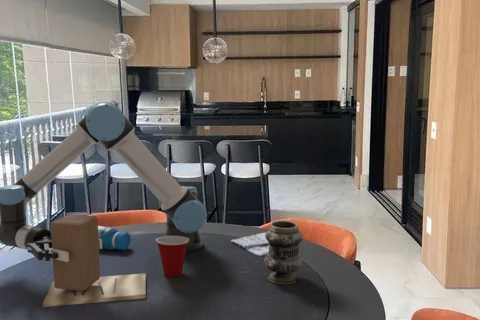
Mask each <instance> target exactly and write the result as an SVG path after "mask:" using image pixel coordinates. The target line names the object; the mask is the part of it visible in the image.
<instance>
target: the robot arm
mask: <svg viewBox="0 0 480 320" xmlns="http://www.w3.org/2000/svg"><path fill="white" fill-rule="evenodd" d="M135 130H136V128H135V126H134V125H133V123H131V121H130V120H129V119H128V118H127V117H126V116H125V114H124V113H123V112H122V110H121V109H120V108H119V107H118V106H116V105H115V104H113V103H112V102H108V101H107V102H106V101H103V102H98V103H96V104H94V105H93V106H91V108H90V109H89V110H88V112H87V113H86V115H85V116H84V117H83V118H82V119H81V120H80V121H79V122H78V123H77V127H76V128H75V129H74V130H73V131H72V132H71V133H70V134H69V135H68V136H67V137H65V138H64V139H63V140H62V141H61V142H60V143H59V144H57V146H55V147H54V148H52V150H51V151H50V152H49V153H47V154H46V155H45V156H44V157H43V158H42V159H41V160H40V161H38V162H37V163H36V164H35V165H34V166H33V167H32V168H31V169H29V171H27V172H26V173H25V174H24V175H23V176H22V177H21V178H19V179H18V180H17V181H16V182H15V183H13V184H9V185H4V186H1V187H0V244H2V245H4V246H7V247H14V248H18V249H23V250H26V251H27V253H30V254H31V255H33V256H34V257H35V258H36V259H37V260H38V261H42V260H44V258H45V262H49V261H51V259H52V260H53V259H56V260H60V261H64V262H69V252H66V251H62V250H58V249H53V248H52V239H51V230H50V229H48V228H43V227H39V226H34V225H30V224H28V223H27V211H26V207H27V205H28V203H29V202H30V201H31V200H32V199H33V198H35V197H36V196H37V195H38V193H40V192H41V191H42V190H43V189H45V188H46V187H47V186H48V185H49V184H50V183H51V182H52V181H53V180H55V179H56V177H58V176H59V175H60V174H61V173H62V172H63V171H64V170H65V169H67V168H68V166H70V165H71V164H72V163H73V162H74V161H76V160H77V159H78V158H79V157H80V156H81V155H82V154H84V152H86V151H87V150H88V149H89V148H90V147H91V146H93V144H94V145H97V144H99V143H100V144H101V145H102V146H103V147H104V148H105V149H106V150H107V151H110V152H111V151H113V152H114V153H116V154H117V156H118V157H120V159H121V160H122V161H123V162H124V164H126V165H127V166H128V168H129V169H130V170H131V171H132V172H133V173H134V174H135V176H137V177H138V179H139V180H140V181H142V183H143V184H144V185H145V186H146V187H147V188H148V190H149V191H150V192H151V193H152V194H153V195H154V196H155V197H156V198H157V199H158V200H159V202H161V207H160V208H161V210H162V211H163V212H164V214H165V215H166V228H165V230H164V231H165V232H164V235H163V237H164V236H183V237H187V238H189V242H188V244H187V248H186V253H189V252H194V251H198V250H199V249H201V248H202V246H203V239H202V235H201V233H200V230H201V229H202V228H203V227H204V226H205V223H206V222H207V218H208V212H207V208H206V206H205V205H204V204H203V203H202V202H201V201H200V200H199V199H198V190H197V188H196V187H195V186H183V185H180V184H179V183H178V181H177V180H175V178H174V177H173V176H172V175H171V174H170V172H169V171H168V170H167V169H166V168H165V167H164V166H163V164H162V163H161V162H160V161H159V160H158V159H157V158H156V157H155V156H154V155H153V154H152V152H151V151H150V150H149V148H147V146H146V145H145V144H144V143H143V142H142V141H141V140H140V139H139V137H138V136H137V135H136V134H135ZM98 240H99V250H102V249H101V248H102V240H101V239H98Z"/></svg>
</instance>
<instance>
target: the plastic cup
mask: <svg viewBox="0 0 480 320" xmlns="http://www.w3.org/2000/svg"><path fill="white" fill-rule="evenodd" d="M155 241H156V244H157V246H158V250H159V255H160V256H159V257H160V261H161V265H162V271H163V274H164V277H165V276H166V277H168V278H177V277H180V276H182V274H183V271H184V264H185V258H186V253H187V252H186V248H187V244H188V242H189V238H187V237H183V236H164V235H163V236H160V237H157V238H156V239H155Z"/></svg>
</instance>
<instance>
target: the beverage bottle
mask: <svg viewBox="0 0 480 320" xmlns="http://www.w3.org/2000/svg"><path fill="white" fill-rule="evenodd" d="M98 239H101V240H102V248H101V249H100V250H105V249H106V250H114V249H116V250H118V251H119V250H120V251H126V250H127V249H128V248H129V247H130V245H131V241H132V239H131V234H130V233H129V232H126V231H119V230H118V229H116V228H115V227H110V226H103V225H98Z"/></svg>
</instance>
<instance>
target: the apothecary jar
mask: <svg viewBox="0 0 480 320" xmlns="http://www.w3.org/2000/svg"><path fill="white" fill-rule="evenodd" d="M265 232H266V234H265V238H266V240H267V241H268V242H269V244H268V245H269V252H268V254H267V255H265V257H264V260H263V261H264V265H265V267H266V268H267V269H268V270H270V271H272V272H270V273H269V274H268V275H267V280H268V281H269V282H271V283H274V284H276V285H292V284H295V283H297V281H299V278H300V277H299V276H298V275H297V274H296V273H294V272H296V271H299V269H301V268H302V266H303V258H301V256H300V255H299V253H300V252H299V251H300V250H299V249H300V246H299V245H300V243H302V241H303V239H304V235H303V233H302V232H301V230H300V229H299V226H298V223H296V222H295V221H292V220H274V221H273V222H271V223H270V227H269V229H268V230H266V231H265Z"/></svg>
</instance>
